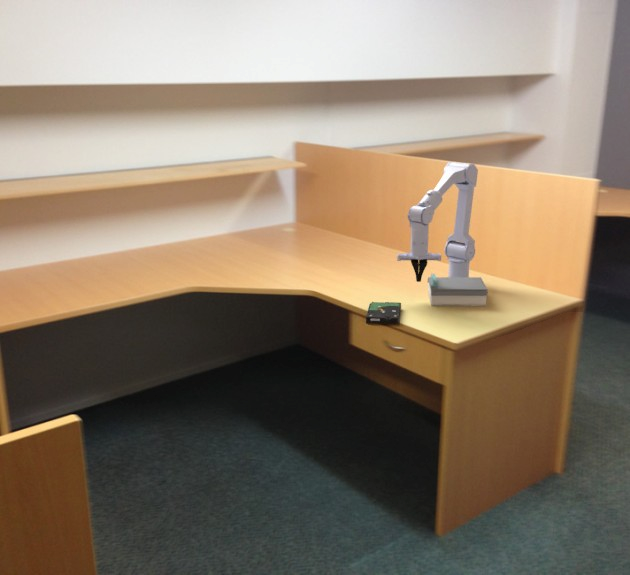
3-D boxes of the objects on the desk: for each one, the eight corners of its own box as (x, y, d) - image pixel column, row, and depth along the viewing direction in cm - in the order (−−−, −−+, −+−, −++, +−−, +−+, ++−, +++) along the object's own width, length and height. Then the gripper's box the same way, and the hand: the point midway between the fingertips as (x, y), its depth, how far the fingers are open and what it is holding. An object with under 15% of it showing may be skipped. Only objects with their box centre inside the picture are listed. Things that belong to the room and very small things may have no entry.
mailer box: (428, 293, 242) (428, 280, 240) (479, 293, 241) (480, 280, 239) (431, 305, 230) (431, 291, 228) (485, 306, 229) (486, 291, 227)
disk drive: (399, 326, 214) (401, 309, 228) (399, 318, 213) (401, 301, 227) (365, 325, 216) (369, 308, 230) (365, 316, 215) (369, 300, 229)
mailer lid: (427, 282, 242) (427, 271, 241) (480, 282, 240) (481, 271, 239) (431, 295, 228) (431, 284, 227) (487, 295, 227) (488, 284, 225)
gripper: (398, 244, 227) (397, 284, 231) (442, 244, 226) (441, 284, 230) (397, 239, 233) (396, 278, 238) (440, 239, 232) (439, 278, 237)
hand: (418, 280), depth 234 cm, fingers closed
